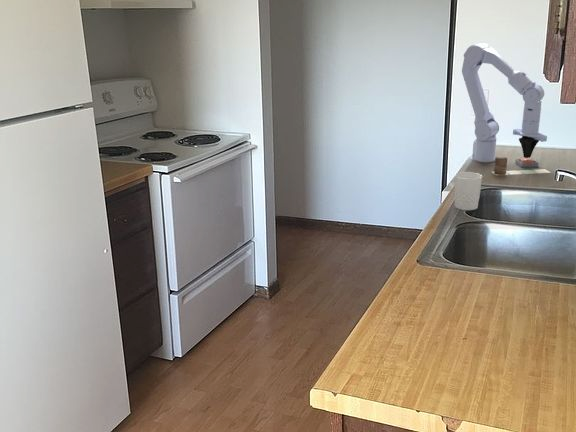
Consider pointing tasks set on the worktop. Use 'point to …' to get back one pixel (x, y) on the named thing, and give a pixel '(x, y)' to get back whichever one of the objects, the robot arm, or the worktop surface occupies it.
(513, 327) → the worktop surface
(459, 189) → the white cup
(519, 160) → the button housing
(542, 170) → the board
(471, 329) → the worktop surface
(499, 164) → the brown wooden cylinder
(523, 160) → the button
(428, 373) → the worktop surface
